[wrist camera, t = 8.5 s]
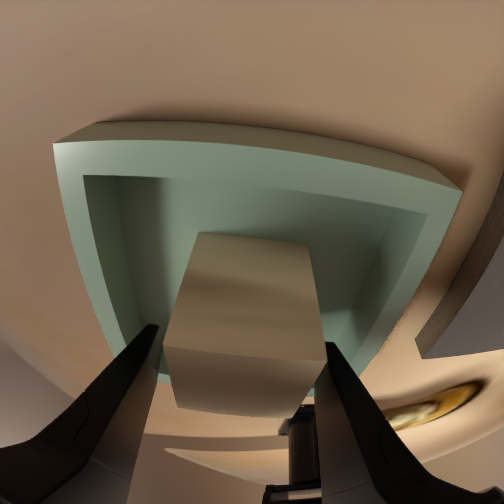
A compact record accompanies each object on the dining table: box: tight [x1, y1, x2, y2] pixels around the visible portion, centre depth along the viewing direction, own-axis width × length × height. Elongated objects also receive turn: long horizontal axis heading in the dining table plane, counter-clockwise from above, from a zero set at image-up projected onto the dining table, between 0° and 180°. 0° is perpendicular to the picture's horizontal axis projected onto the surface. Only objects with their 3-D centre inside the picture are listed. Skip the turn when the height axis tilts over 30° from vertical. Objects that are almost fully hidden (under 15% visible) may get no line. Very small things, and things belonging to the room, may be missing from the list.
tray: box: [53, 121, 463, 396], centre depth 11 cm, size 12×12×2 cm
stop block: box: [163, 232, 327, 418], centre depth 10 cm, size 4×4×5 cm
